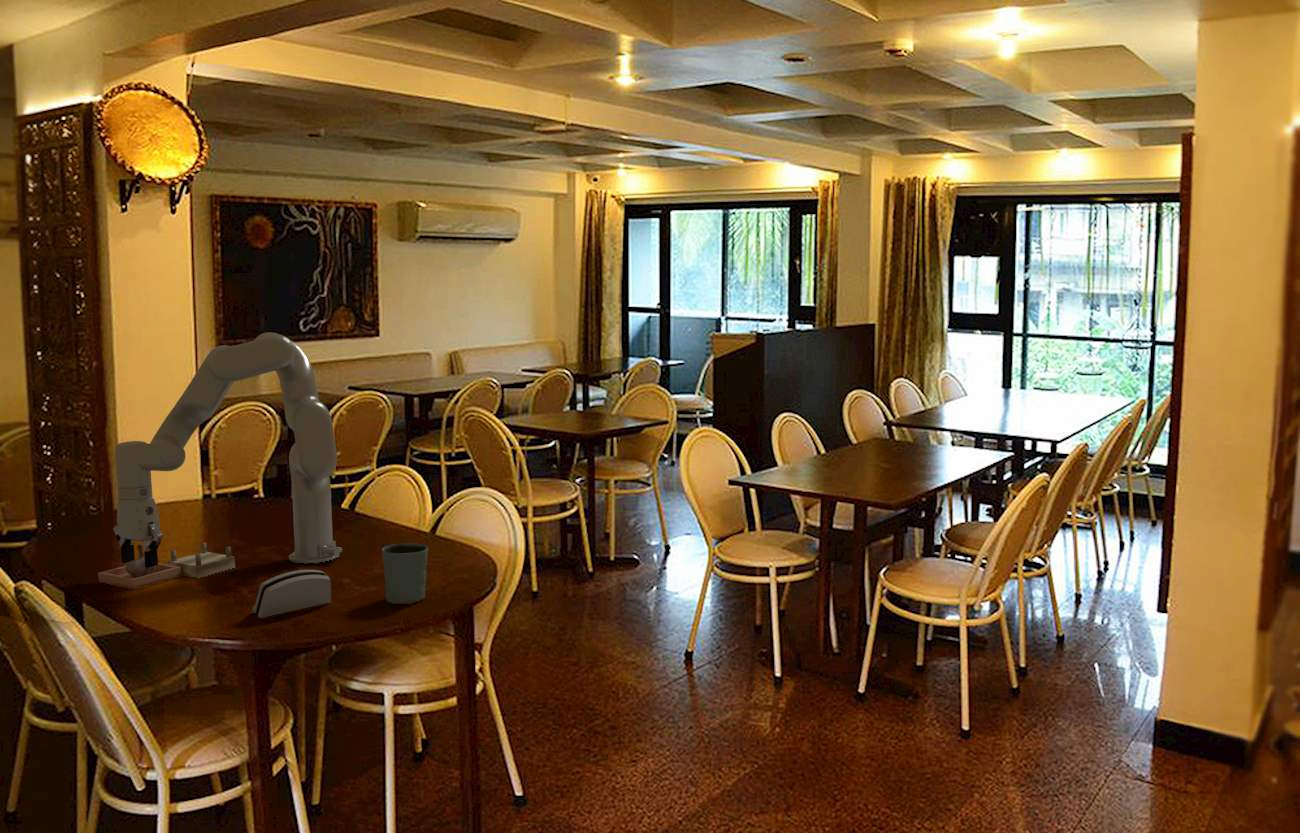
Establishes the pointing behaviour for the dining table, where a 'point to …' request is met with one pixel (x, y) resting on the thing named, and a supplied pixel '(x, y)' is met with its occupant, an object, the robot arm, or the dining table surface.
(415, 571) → the grey green cup
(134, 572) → the garlic bulb
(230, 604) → the dining table surface
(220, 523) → the dining table surface
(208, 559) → the peg rest
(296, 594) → the grey arched block
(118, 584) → the terracotta dish
